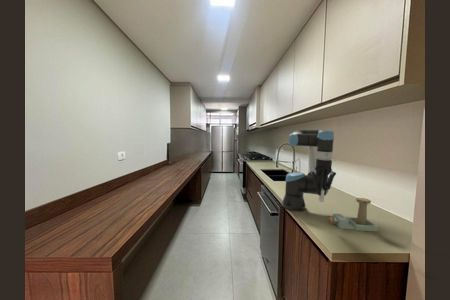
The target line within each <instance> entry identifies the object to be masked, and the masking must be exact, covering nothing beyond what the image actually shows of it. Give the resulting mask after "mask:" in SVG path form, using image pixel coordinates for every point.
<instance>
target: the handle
mask: <svg viewBox="0 0 450 300" xmlns="http://www.w3.org/2000/svg"><path fill="white" fill-rule="evenodd" d="M355 201H356V202H357V203H358V209H357V216H356V218H357V221H358V223H357V225H367V224H366V219H367V216H368V214H367V213H368V211H367V207H368V205H369V204H371V203H372V200H371V199H368V198H365V197H356V198H355Z"/></svg>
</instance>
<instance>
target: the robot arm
mask: <svg viewBox="0 0 450 300" xmlns="http://www.w3.org/2000/svg"><path fill="white" fill-rule="evenodd" d="M334 140H335V132H334V131H333V130H321V129H300V130H299V129H298V130H295V131H293V132H291V133H290V134H289V139H288V145H289V146H290V147H291V146H293V147H306V148H307V149H308V166H309V167H308V170H309V172H308V173H307V175H305V173H304V172H290V173H287V174H286V176H285V190H284V191H285V192H284V196H283V199H282V201H281V206H282V207H283V208H284V209H287V210H290V211H293V212H294V211H295V212H301V211H302V212H303V211H305V210H306V207H307V206H306V202H305V199H304V194H310V195H318V201H319V202H320V203H324V202H325V201H324V200H325V196H326V195H328V193H329V190H330V189H331V187H332V184H333V181H334V178H335V176H336V174H337V173H336V171H333V169H332V165H333V150H334Z"/></svg>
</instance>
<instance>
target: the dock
mask: <svg viewBox="0 0 450 300" xmlns="http://www.w3.org/2000/svg"><path fill="white" fill-rule="evenodd" d="M332 218H333V219H338V223H336V222H333V224H334V225H336V226H337V227H338V228H339V229H342V230H343V229H345V230H356V231H365V232H367V231H368V232H369V231H370V232H379V226H378V225H376V224H375V223H374V222H373V221H370V220H369V219H366V224H365V225H358V221H357V217H348V216H346V217H345V216H344V215H342V214H341V213H332Z"/></svg>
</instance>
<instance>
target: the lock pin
mask: <svg viewBox="0 0 450 300" xmlns="http://www.w3.org/2000/svg"><path fill="white" fill-rule="evenodd" d="M328 222H329V224H334V222H336V223H338V219H333V216H330V217H328Z"/></svg>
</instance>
